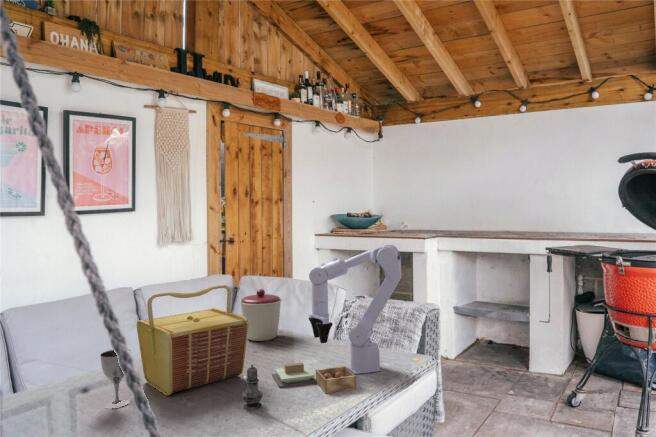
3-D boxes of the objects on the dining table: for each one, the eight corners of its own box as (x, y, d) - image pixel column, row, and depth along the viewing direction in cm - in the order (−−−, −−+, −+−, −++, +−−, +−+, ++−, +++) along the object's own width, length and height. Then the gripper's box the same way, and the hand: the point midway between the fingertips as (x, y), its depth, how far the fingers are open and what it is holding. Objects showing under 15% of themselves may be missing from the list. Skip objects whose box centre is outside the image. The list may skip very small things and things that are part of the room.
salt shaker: (259, 411, 138) (258, 368, 137) (239, 409, 139) (238, 367, 138) (266, 402, 143) (265, 361, 143) (246, 401, 144) (245, 360, 144)
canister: (291, 338, 213) (290, 288, 212) (256, 346, 200) (255, 294, 200) (266, 330, 226) (265, 284, 225) (232, 338, 214) (230, 289, 213)
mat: (306, 371, 170) (306, 369, 170) (316, 383, 158) (316, 381, 158) (272, 375, 166) (271, 373, 166) (279, 388, 154) (279, 386, 154)
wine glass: (113, 412, 139) (111, 358, 138) (96, 406, 143) (94, 354, 142) (137, 402, 145) (136, 351, 145) (120, 397, 150) (119, 347, 149)
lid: (305, 370, 169) (305, 358, 168) (314, 380, 159) (313, 367, 158) (275, 374, 165) (275, 361, 165) (281, 384, 156) (281, 371, 155)
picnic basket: (167, 403, 144) (164, 300, 143) (134, 381, 163) (131, 290, 162) (253, 379, 163) (251, 288, 162) (214, 361, 182) (212, 280, 182)
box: (345, 378, 162) (345, 366, 162) (356, 389, 153) (356, 376, 152) (315, 382, 159) (315, 369, 159) (325, 393, 150) (324, 380, 149)
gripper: (303, 298, 179) (304, 336, 180) (314, 306, 165) (315, 346, 166) (322, 297, 181) (322, 334, 182) (334, 304, 168) (335, 344, 168)
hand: (320, 340), depth 174 cm, fingers open, 7 cm apart
